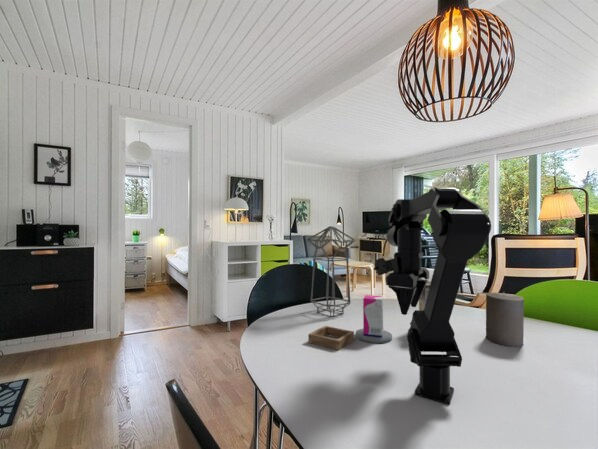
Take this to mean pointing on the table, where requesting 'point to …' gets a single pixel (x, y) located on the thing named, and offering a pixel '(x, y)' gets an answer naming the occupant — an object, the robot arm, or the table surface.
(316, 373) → the table surface
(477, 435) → the table surface
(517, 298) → the pillar candle
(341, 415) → the table surface
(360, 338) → the slate pad
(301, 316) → the table surface
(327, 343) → the wooden tray
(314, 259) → the geometric lantern
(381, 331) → the supplement box
